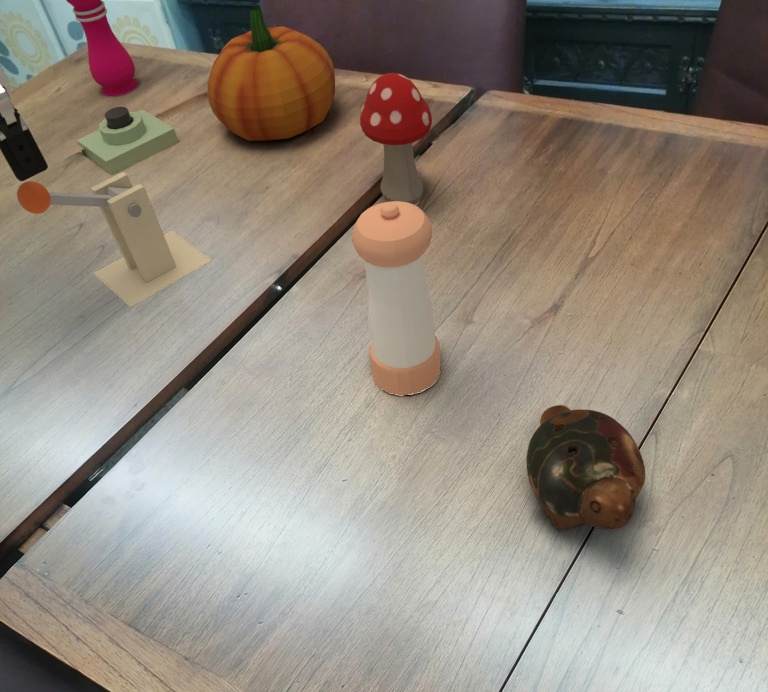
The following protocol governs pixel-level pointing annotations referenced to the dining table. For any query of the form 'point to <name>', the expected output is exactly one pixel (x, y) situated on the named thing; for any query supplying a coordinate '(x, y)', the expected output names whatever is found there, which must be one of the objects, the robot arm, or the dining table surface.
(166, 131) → the control block
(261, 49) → the pumpkin
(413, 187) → the decorative mushroom
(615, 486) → the decorative turtle
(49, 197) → the switch lever
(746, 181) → the dining table surface
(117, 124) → the button
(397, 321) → the salt shaker
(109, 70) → the pepper mill
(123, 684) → the dining table surface
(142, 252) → the wooden pivot stand
